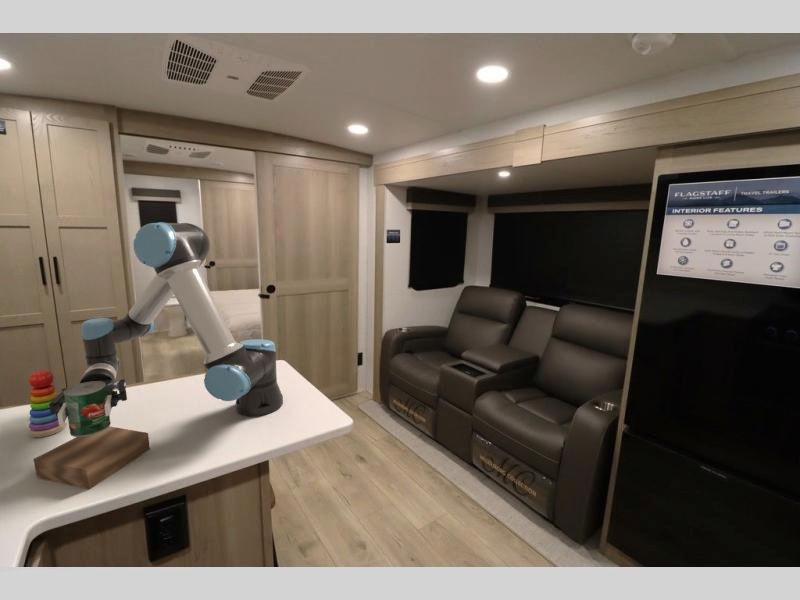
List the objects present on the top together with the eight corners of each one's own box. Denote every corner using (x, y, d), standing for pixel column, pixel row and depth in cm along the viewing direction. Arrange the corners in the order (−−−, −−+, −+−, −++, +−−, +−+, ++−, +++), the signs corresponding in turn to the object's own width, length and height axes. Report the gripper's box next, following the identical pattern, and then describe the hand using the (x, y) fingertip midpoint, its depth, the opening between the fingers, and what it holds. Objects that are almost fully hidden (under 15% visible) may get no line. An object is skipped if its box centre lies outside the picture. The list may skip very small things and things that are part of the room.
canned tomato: (102, 434, 90) (96, 393, 88) (62, 439, 88) (55, 396, 85) (116, 418, 97) (111, 379, 95) (80, 422, 95) (74, 382, 93)
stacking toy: (32, 442, 102) (20, 379, 99) (27, 432, 107) (15, 371, 103) (69, 430, 109) (59, 370, 105) (63, 421, 113) (53, 364, 110)
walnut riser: (150, 449, 100) (148, 432, 99) (89, 489, 85) (86, 470, 84) (103, 440, 104) (100, 424, 103) (36, 477, 88) (33, 459, 87)
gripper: (143, 385, 112) (139, 418, 93) (52, 400, 101) (26, 441, 82) (140, 362, 111) (135, 391, 92) (48, 374, 100) (21, 410, 81)
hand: (84, 414), depth 87 cm, fingers closed on canned tomato, 8 cm apart
